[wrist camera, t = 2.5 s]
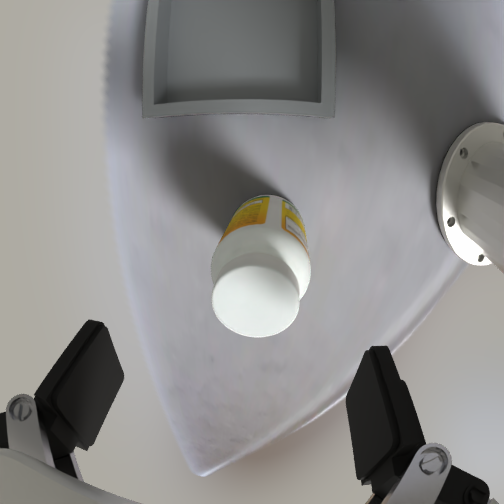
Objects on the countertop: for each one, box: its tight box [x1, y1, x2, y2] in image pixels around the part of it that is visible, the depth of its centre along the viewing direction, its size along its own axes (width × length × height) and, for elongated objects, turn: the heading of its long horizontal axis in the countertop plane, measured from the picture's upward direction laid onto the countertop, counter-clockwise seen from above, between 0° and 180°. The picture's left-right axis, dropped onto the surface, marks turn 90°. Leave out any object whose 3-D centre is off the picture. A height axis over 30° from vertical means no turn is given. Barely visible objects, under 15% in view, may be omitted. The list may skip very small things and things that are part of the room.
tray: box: [142, 0, 336, 118], centre depth 14 cm, size 12×12×3 cm
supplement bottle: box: [211, 195, 311, 337], centre depth 17 cm, size 5×5×10 cm
